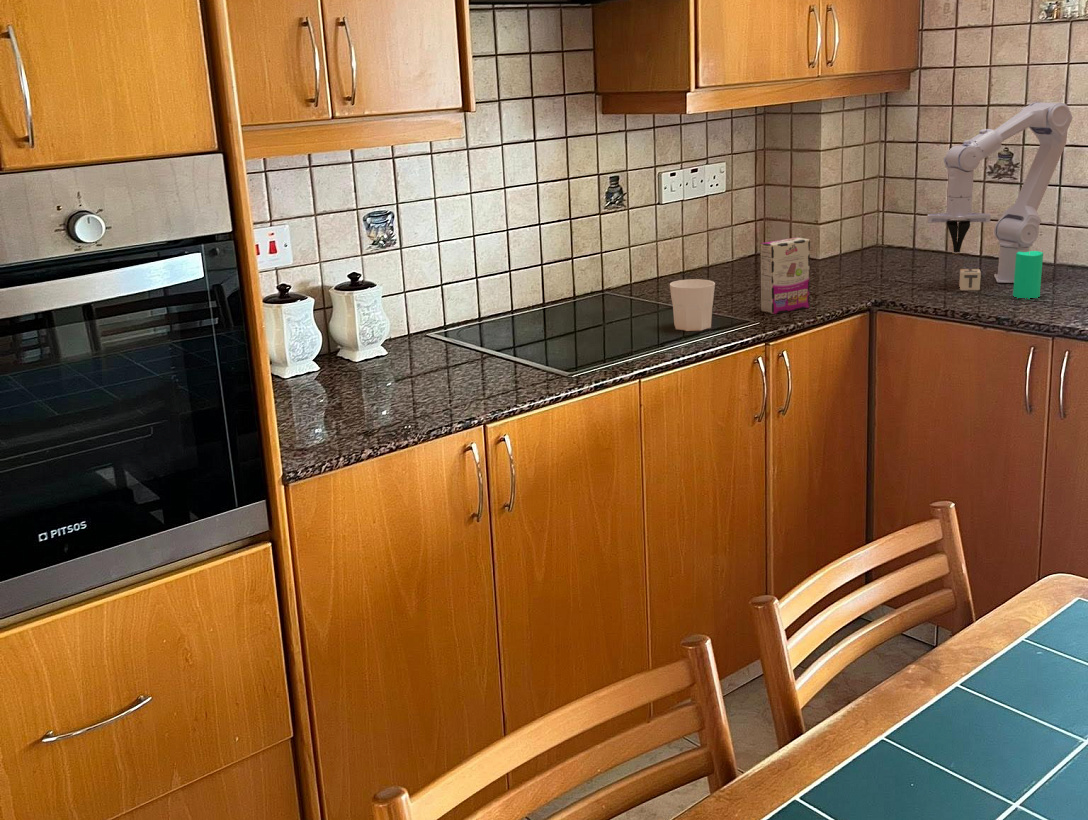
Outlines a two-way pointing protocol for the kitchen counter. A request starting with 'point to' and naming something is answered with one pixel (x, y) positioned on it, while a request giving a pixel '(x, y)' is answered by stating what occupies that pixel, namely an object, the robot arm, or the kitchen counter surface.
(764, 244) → the candy bar box
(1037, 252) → the candle
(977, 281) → the letter cube
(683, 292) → the cup
